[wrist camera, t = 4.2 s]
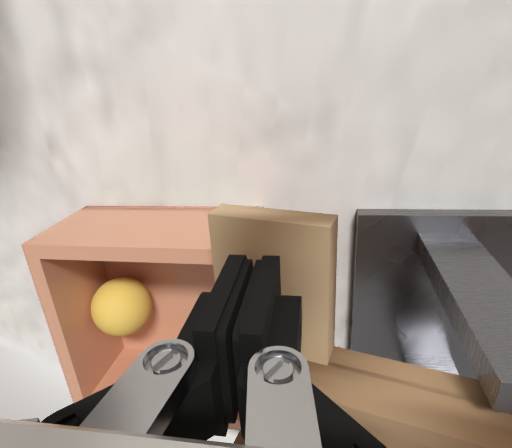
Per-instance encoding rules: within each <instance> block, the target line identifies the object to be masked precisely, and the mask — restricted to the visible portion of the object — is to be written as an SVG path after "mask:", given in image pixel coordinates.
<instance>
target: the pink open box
mask: <svg viewBox="0 0 512 448" xmlns="http://www.w3.org/2000/svg"><path fill="white" fill-rule="evenodd" d="M215 208H217V207H162V206H86V207H84V208H82V209H81V210H79V211H77V212H75V213H74V214H72V215H70V216H69V217H67V218H65V219H64V220H62V221H60V222H59V223H57V224H55V225H53V226H52V227H50V228H48V229H47V230H45V231H43V232H42V233H40V234H38V235H37V236H35V237H33V238H32V239H30V240H28V241H26V242H25V243H23V244H21V245H22V248H23V251H24V254H25V258H26V261H27V264H28V267H29V270H30V273H31V276H32V279H33V282H34V285H35V288H36V291H37V294H38V297H39V300H40V303H41V306H42V309H43V312H44V315H45V318H46V321H47V324H48V327H49V330H50V333H51V336H52V340H53V343H54V346H55V349H56V352H57V355H58V358H59V361H60V364H61V367H62V370H63V373H64V376H65V379H66V382H67V385H68V388H69V391H70V394H71V397H72V400H73V403H75V402H77V401H79V400H81V399H83V398H86V397H88V396H90V395H92V394H94V393H96V392H98V391H100V390H102V389H104V388H106V387H108V386H110V385H113V384H115V383H116V382H117V381H118V380H119V378H120V377H121V376H122V375H123V374H124V372H125V371H126V370H127V369H128V368H129V366H130V365H131V364H132V363H133V362H134V361H135V359H136V358H137V357H138V356H139V355H140V353H141V352H142V351H144V350H145V349H146V348H147V347H148V346H150V345H152V344H154V343H156V342H159V341H162V340H167V339H177V337H178V335H179V333H180V331H181V329H182V327H183V326H184V324H185V322H186V320H187V318H188V316H189V314H190V312H191V310H192V309H193V307H194V305H195V303H196V301H197V299H198V297H199V295H200V294H201V293H202V292H211V290H212V288H213V286H214V284H215V278H214V269H213V260H212V251H211V242H210V234H209V225H208V216H207V214H208V213H210V212H211V211H213V210H214V209H215ZM259 208H264V207H259ZM119 277H128V278H132V279H135V280H137V281H139V282H141V283H142V284H143V285H144V286H145V287H146V288H147V290H148V291H149V293H150V296H151V299H152V309H151V314H150V316H149V318H148V320H147V322H146V323H145V324H144V326H143V327H142V328H140V329H139V330H138V331H136V332H134V333H132V334H130V335H126V336H112V335H109V334H106V333H104V332H103V331H101V330H100V329H99V328H98V327H97V326H96V324H95V323H94V321H93V319H92V316H91V302H92V299H93V296H94V294H95V293H96V291H97V290H98V289H99V288H100V287H101V286H102V285H103V284H104V283H106V282H107V281H109V280H112V279H115V278H119ZM228 429H236V430H241V427H240V420H239V412H238V416H237V420H236V423H235V424H231V423H229V426H228Z"/></svg>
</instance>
